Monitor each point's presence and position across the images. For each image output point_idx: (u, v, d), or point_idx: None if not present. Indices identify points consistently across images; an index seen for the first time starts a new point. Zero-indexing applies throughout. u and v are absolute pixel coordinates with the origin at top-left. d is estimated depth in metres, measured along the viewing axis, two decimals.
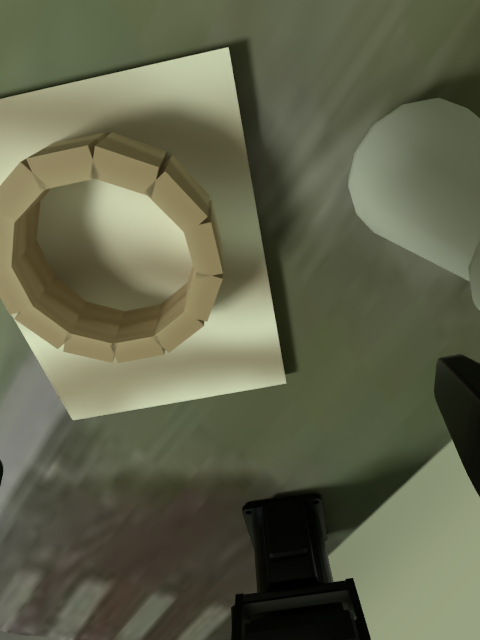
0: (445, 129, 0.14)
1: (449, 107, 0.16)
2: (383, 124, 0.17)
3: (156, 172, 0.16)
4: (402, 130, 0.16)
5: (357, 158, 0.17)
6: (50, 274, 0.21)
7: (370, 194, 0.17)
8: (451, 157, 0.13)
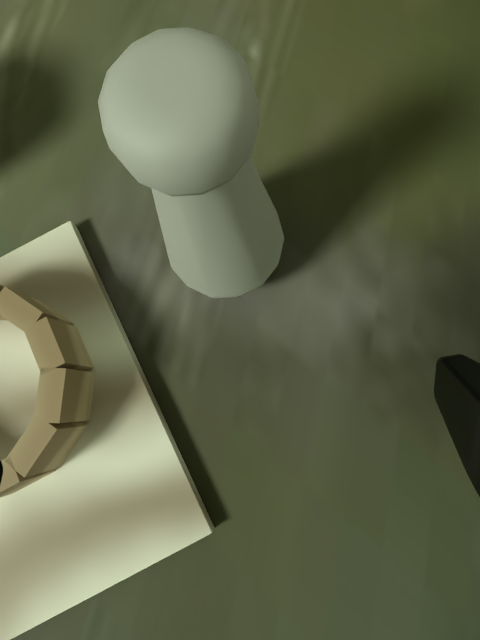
0: None
1: None
2: None
3: None
4: None
5: None
6: None
7: (167, 248, 0.19)
8: None
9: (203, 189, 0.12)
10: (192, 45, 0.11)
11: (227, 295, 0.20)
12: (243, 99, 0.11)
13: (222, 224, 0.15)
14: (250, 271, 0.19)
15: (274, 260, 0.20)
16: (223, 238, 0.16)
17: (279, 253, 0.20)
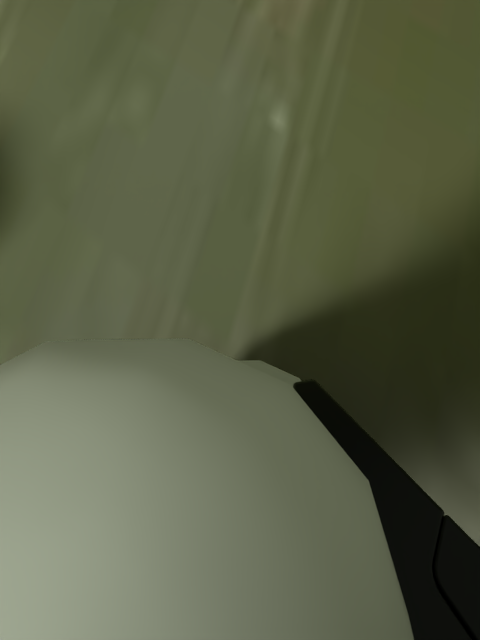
0: None
1: None
2: None
3: None
4: None
5: None
6: None
7: None
8: None
9: None
10: (155, 510, 0.02)
11: None
12: None
13: None
14: None
15: None
16: None
17: None
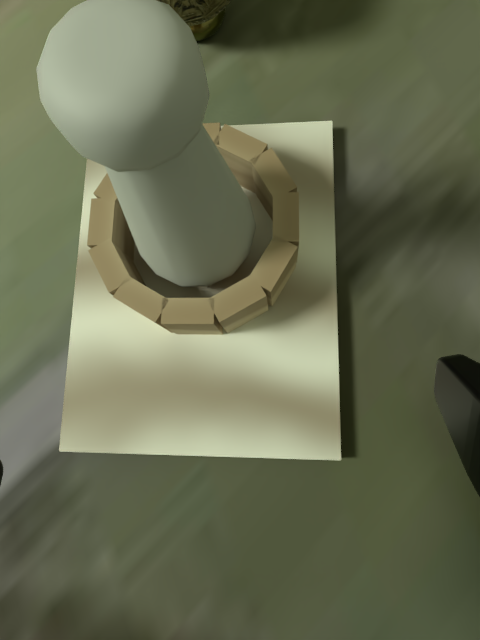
0: None
1: None
2: None
3: (264, 147, 0.20)
4: None
5: None
6: (132, 256, 0.23)
7: (133, 233, 0.18)
8: None
9: (148, 163, 0.11)
10: (132, 9, 0.10)
11: (196, 284, 0.20)
12: (185, 66, 0.10)
13: (180, 205, 0.14)
14: (217, 258, 0.18)
15: (244, 247, 0.19)
16: (183, 221, 0.15)
17: (250, 241, 0.20)
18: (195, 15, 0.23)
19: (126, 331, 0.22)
